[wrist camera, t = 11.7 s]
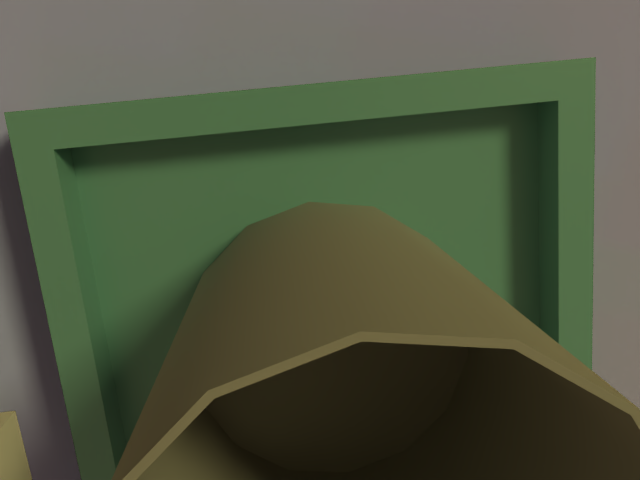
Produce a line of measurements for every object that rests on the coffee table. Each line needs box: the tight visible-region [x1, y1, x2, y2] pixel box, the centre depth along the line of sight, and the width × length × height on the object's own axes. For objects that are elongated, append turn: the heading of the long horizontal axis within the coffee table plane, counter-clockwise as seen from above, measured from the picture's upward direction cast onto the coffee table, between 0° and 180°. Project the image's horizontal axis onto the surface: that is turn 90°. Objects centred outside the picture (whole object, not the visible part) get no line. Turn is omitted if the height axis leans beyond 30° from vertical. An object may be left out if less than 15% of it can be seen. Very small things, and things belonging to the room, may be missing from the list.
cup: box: [111, 202, 640, 480], centre depth 12 cm, size 8×8×10 cm
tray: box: [4, 57, 596, 480], centre depth 17 cm, size 15×15×2 cm
